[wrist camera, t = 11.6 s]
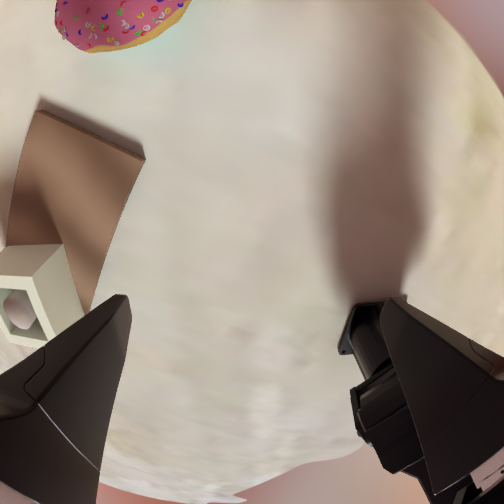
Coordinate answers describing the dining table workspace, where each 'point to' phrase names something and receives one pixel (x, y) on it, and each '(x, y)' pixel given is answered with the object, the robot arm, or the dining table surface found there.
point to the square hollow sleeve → (39, 291)
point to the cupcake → (115, 22)
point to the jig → (68, 202)
